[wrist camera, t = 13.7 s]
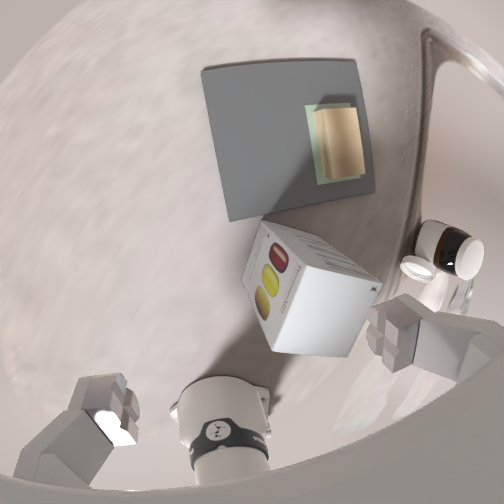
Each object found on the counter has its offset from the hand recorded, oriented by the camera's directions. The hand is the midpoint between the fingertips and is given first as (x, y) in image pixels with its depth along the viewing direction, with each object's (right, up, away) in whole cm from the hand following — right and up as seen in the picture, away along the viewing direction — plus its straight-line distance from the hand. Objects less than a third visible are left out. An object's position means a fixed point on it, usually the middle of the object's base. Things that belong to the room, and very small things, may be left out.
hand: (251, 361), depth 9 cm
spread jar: (+31, +4, +39) cm, 50 cm away
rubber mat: (+6, +19, +28) cm, 35 cm away
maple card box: (+11, +18, +29) cm, 36 cm away
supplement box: (+4, +3, +34) cm, 34 cm away
